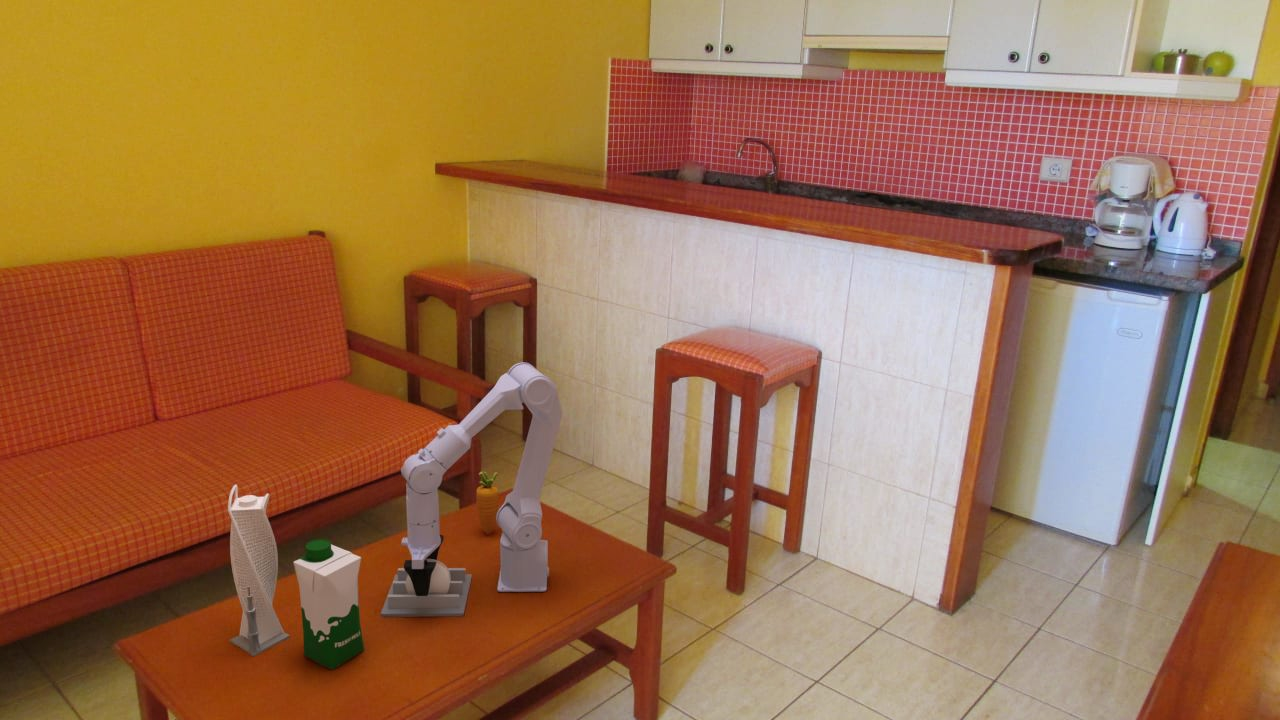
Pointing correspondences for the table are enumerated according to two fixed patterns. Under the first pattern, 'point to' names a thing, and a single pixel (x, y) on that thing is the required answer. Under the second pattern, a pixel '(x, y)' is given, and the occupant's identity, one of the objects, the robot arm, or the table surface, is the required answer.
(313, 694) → the table surface
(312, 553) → the milk carton
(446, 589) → the cream round puck
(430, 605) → the dish rack
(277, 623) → the skyscraper
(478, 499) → the carrot
